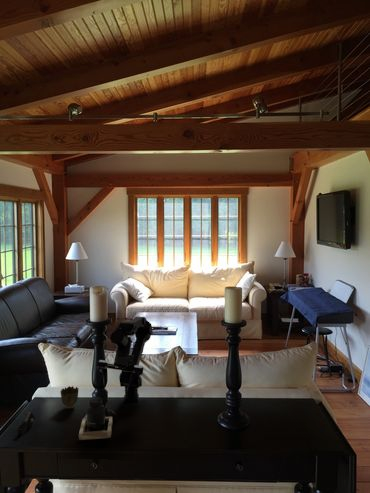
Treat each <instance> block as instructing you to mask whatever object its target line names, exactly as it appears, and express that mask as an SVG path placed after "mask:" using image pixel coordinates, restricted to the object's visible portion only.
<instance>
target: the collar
mask: <svg viewBox="0 0 370 493" xmlns="http://www.w3.org/2000/svg"><path fill="white" fill-rule="evenodd" d="M81 420H82V421H81V423H80V427H79V428H80V429H79V433H78V441H85V440H98V439H109V438H110V439H111V437H112V428H113V416H105V420H106V421H109V422H108V424H107V430H104V431H93V432H88V431H86V427H87V417H86V418H85V417H83V418H82V419H81Z"/></svg>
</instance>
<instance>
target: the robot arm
mask: <svg viewBox="0 0 370 493" xmlns="http://www.w3.org/2000/svg"><path fill="white" fill-rule="evenodd" d="M153 331H154V330H153V325H152V323H151V322H150V321H148V320H147V318H146V317H145V316H135V317H134V318H133V319H131V320H129V321H123V320H122V321H120V322H119V323H118V325H117V326H116V328H115V330H114V331H112V333H111V334H110V337H109V338H110V342H111V343H112V344H113V345H115V346H116V350H115V357H114V362H113V363H109V361H108V360H103V359H99V360H98V361H97V365H96V370H99V372H100V373H101V375H102V379H103V387H104V389H106V385H107V377H108V375H107V374H108V369H111V370H118V371H120V374H119V378H118V379H119V384H120V387H124V397H123V402H124V403H131V402H132V403H133V402H139V401H140V395H139V389H140V387H142V386H143V378H142V375H143V374H144V367H143V366H142V365H140V362H141V358H142V356H143V351H144V347H145V344H146V343H147V342H148V341H149V340H150V339H151V336H152V335H153ZM131 336H132V337H133V336H135V342H134V344H133V340H132V337H131ZM132 344H133V348H132V350H131V347H132Z"/></svg>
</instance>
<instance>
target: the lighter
mask: <svg viewBox="0 0 370 493" xmlns="http://www.w3.org/2000/svg"><path fill="white" fill-rule="evenodd" d="M35 419H36V417H35V415H34V414H33V412H32V411H27V412H26V413H25V415H24V419H23V421H22V423H21V424H20V425H19V426H18V428H17V435H18V436H23V435H24V434H25V433H26V432H27V431H28V429H30V428H32V425H33V423H34V422H35Z"/></svg>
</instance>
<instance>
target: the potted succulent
mask: <svg viewBox="0 0 370 493" xmlns="http://www.w3.org/2000/svg"><path fill="white" fill-rule="evenodd" d="M79 391H80V390H79V387H78V386H76V387H74V386H73V385H72V386H67V387H64V388H61V390H60V398H61V402H62V404H63V405H64V406H65V410H72V409H74V408H75V405H76V403H77V401H78V398H79Z"/></svg>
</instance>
